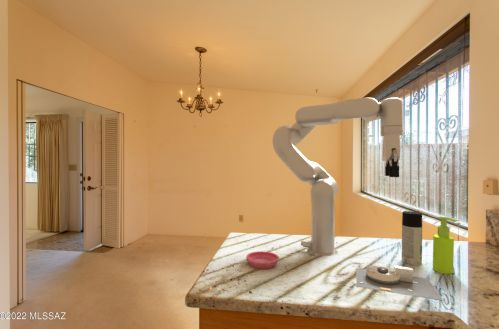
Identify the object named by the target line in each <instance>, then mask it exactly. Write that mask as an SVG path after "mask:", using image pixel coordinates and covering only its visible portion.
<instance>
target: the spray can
mask: <svg viewBox="0 0 499 329" xmlns="http://www.w3.org/2000/svg"><path fill="white" fill-rule="evenodd" d="M401 214H402V216H401V217H402V218H401V219H402V220H401V262H403V263H406V264H409V265H412V266H413V265H414V266H415V265H416V266H418V265H420V266H421V265H422V264H423V263H422V262H423V213H422V212H419V211H411V210H409V211H408V210H405V211H404V210H403V211H402V213H401Z"/></svg>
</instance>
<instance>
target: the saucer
mask: <svg viewBox="0 0 499 329" xmlns="http://www.w3.org/2000/svg"><path fill="white" fill-rule="evenodd" d="M245 260H246V261H247V263H248V264H249V265H250V267H252V268H255V269H258V270H268V269H272V268H274V267H275V266H276V265H277V264H278V263H279V261H280V256H279V255H278V254H276V253H274V252H270V251H262V250H261V251H259V250H258V251H253V252H250V253H248V254H247V255H246V259H245Z"/></svg>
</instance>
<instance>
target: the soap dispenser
mask: <svg viewBox="0 0 499 329" xmlns="http://www.w3.org/2000/svg"><path fill="white" fill-rule="evenodd" d="M437 218H438V220H440V224H439V225H438V226H437V233H436V234H433V237H432V239H433V241H432V243H433V244H432V270H433V271H434V272H437V273H439V274H446V275H452V274H454V259H455V258H454V252H455V251H454V250H455V249H454V248H455V247H454V246H455V238H454V236H450V234H451V233H450V231H451V230H450V228H451V227H449V226H448V225H447V224H448V222H447V221H451V222H453V223H454V222H458V221H459V220H458V219H457V218H456V219H455V218H453V217H449V216H438V217H437Z"/></svg>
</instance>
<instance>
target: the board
mask: <svg viewBox="0 0 499 329" xmlns="http://www.w3.org/2000/svg"><path fill="white" fill-rule="evenodd" d="M355 271H356V272H355V274H356V277H355V278H356V287H357V288H363V289H369V290H374V291H375V290H376V291H380V292H382V291H383V292H386V293H387V292H388V293H392V294H394V293H395V294H399V295H407V296H414V297H417V298H418V297H419V298H425V299H432V300H438V301H443V298H442V297H441V296H440V294H439V292H438V290H436V288H435V287H434V285H433V283H432V282H431V280H430V279H429V278H427V277H419V276H415V275H413V283H411V282H404V281H400V283H398V284H394V285H388V284H381V283H377V282H374V281H372V280H370V279H369V278H367V276H366V269H362V268H355Z"/></svg>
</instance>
